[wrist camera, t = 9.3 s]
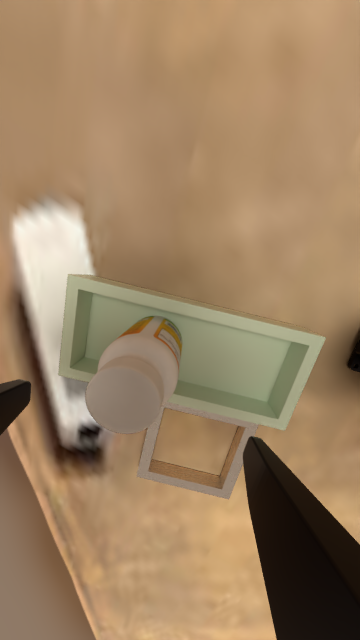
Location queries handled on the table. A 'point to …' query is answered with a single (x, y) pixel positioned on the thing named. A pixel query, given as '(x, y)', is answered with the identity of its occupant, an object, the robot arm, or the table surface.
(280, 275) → the table surface
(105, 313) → the trough
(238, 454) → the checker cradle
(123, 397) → the supplement bottle
